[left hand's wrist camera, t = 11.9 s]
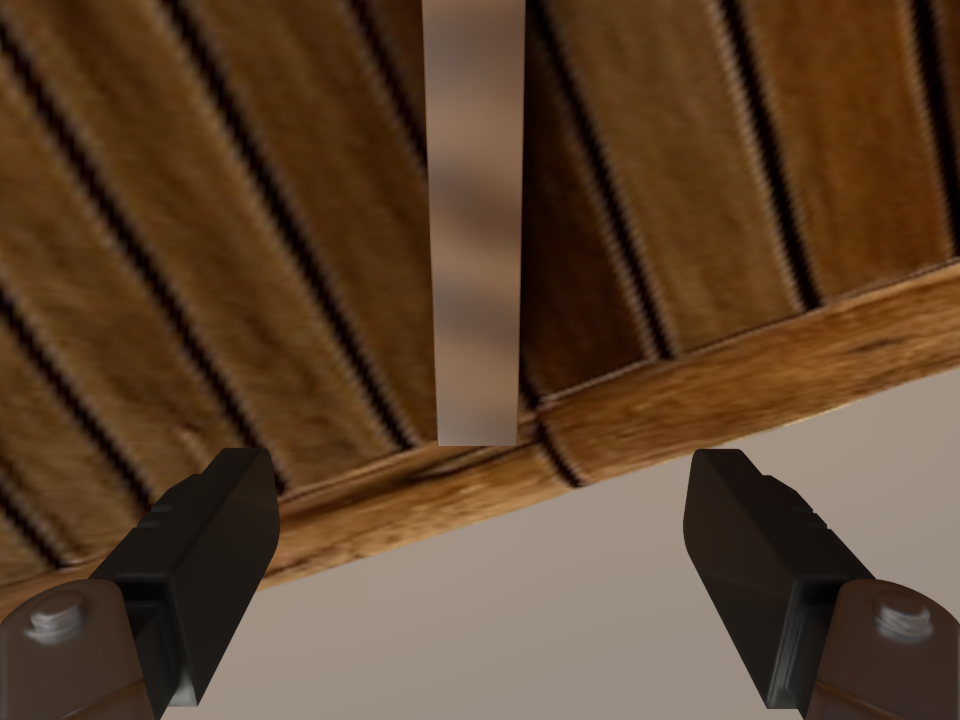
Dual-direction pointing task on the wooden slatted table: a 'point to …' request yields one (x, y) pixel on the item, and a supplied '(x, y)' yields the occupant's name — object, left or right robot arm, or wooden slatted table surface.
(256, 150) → the wooden slatted table surface
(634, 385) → the wooden slatted table surface
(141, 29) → the wooden slatted table surface
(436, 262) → the bar
